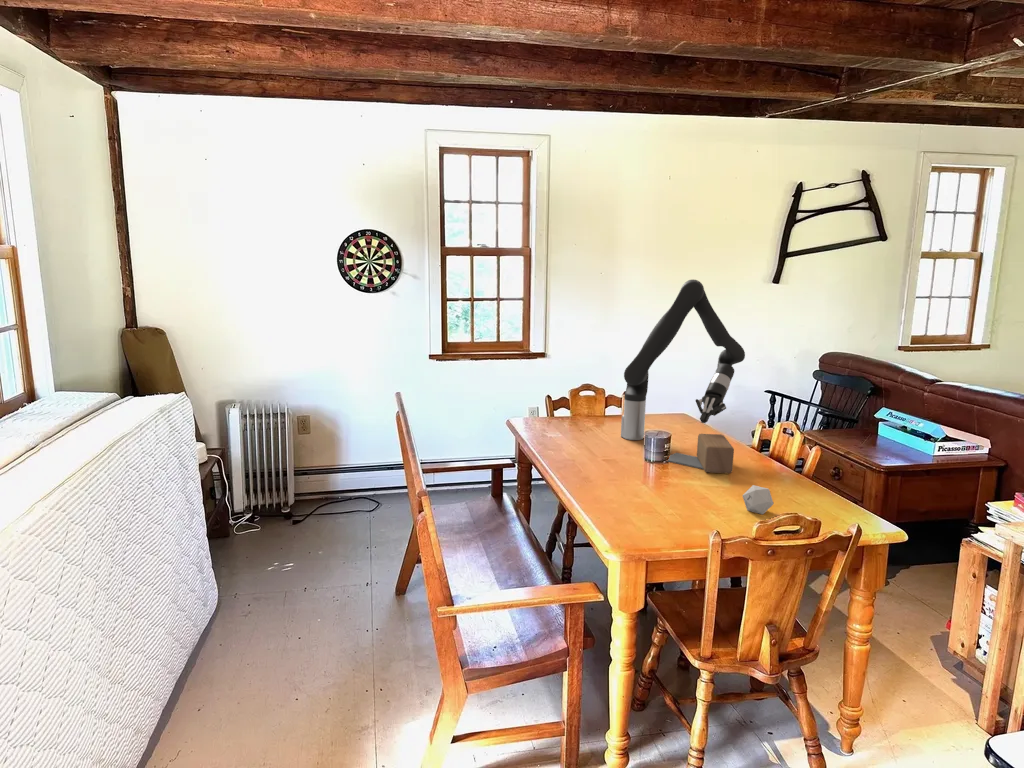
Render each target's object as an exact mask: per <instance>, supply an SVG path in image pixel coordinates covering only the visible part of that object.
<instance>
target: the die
mask: <svg viewBox="0 0 1024 768" xmlns="http://www.w3.org/2000/svg"><path fill="white" fill-rule="evenodd" d="M741 496H742V500H743V501H744V505H745V507H746V511H748V512H751V513H756V514H759V515H764V514H765V513H766V512H767V511H768V510H769V509H770V508H771V507H772V506H773V505H774V501H773V497H772V494H771V491H770V488H768V487H761V486H759V485H754V484H752V485H751V487H749V488H748V490H746V491H745V492H744V493H743V494H742V495H741Z"/></svg>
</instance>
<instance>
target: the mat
mask: <svg viewBox="0 0 1024 768" xmlns="http://www.w3.org/2000/svg"><path fill="white" fill-rule="evenodd" d="M667 462H668V463H673V464H678V465H681V466H686V467H691V468H693V469H694V468H695V469H699V470H704V469H703V467H702V465H701V463H700V461H699V460H698V458H697V456H695V455H691V454H685V453H680V452H674V453H672V454H670V457H669V459H668V461H667ZM704 471H705V470H704Z"/></svg>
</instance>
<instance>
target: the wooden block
mask: <svg viewBox="0 0 1024 768" xmlns="http://www.w3.org/2000/svg"><path fill="white" fill-rule="evenodd" d="M734 455H735V448H734V447H733V446H732V444H731V443H730V441H729V440H728V439H727V438H726V437H725V435H723V434H722V433H721V434H716V433H715V434H714V433H699V434H698V435H697V445H696V457H697V458H698V460H699V461H700V463H701V465H702V467H703V469H704V472H706V473H716V474H732V472H733V466H734ZM703 469H702V470H703Z"/></svg>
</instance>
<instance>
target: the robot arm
mask: <svg viewBox="0 0 1024 768" xmlns="http://www.w3.org/2000/svg"><path fill="white" fill-rule="evenodd" d="M693 308H694V310H695V311H696V313H697V314H698V317H699V318H700V320H701V322H702V324H703V326H704V329H705V330H706V332H707V334H708V336H709V337H710V339H711V341H712V342H713V344H714V345H715V346H716V347H723V348H724V350H722V351H721V352H720V354H719V356H718V359H717V366H716V367H717V368H716V370H715V372H714V374H713V376H712V378H711V380H709V381H710V382H709V383H708V385H707V388H706V391H705V393H704V395H703V396H702V397H701V399H697V398H696V399H694V400H695V402H696V403H695V404H696V405H697V408H698V411H699V413H700V414H701V415H700V417H699V420H700V423H701V424H706V423H707V422H708V421H709V419H710V417H711V416H714V417H715V416H717V415H718V414H720V413H721V412H723V411H725V410H727V406H726V403H724V400H725V397H726V395H727V393H728V391H729V389H730V385H731V382H732V379H733V378H734V375H735V368H734V367H733V366H734V365H736V364H739V363H741V362H743V361H744V360H745V358H746V352H745V350H744V347H743V346H742V345H741V344H740V343H739V342H738V341H737V340H736V339H735V338H734V337H733V336H732V335H731V334H730V333H729V331H728V330H727V328H726V326H725V325H724V323H723V322H722V320H721V319H720V317H719V315H717V312H716V311H715V309H714V308H713V306H712V305H711V303H710V301H709V298H708V296H707V293H706V290H705V287H704V284H702V282H701V281H699V280H697V279H689V280H687V281H685V282H684V283H683V284H682V286H681V288H680V290H679V293H678V294H677V296H676V298H675V300H674V302H673V303H672V304H671V306H670V308H669V309H668V310H667V311H666V312H665V313H664V314H663V315H662V316H661V318H660V319H659V320H658V322H657V323H656V324H655V325H654V327H653V328H652V330H651V332H650V333H649V335H648V337H647V338H646V339H645V341H644V343H643V344H642V347H641V348H640V350H639V352H638V354H636V356H635V357H634V358H633V360H632V361H631V362H630V363H629V364H628V365H627V367H626V368H625V370H624V373H623V378H624V381H625V382H626V389H625V391H624V392H625V393H624V397H623V398H624V402H623V408H624V409H623V415H621V422H620V424H621V425H620V437H621V438H623V439H625V440H630V441H640V440H644V439H643V437H644V438H645V424H646V422H645V421H646V405H647V400H646V399H647V394H648V388H649V387H648V385H649V370H650V368H651V367H652V366H653V364H654V362H655V361H656V360H657V359H658V358H659V357H660V356H661V355H662V354H663V352H664V351H665V350H666V349H667V348H668V347H669V345H670V344H671V343H672V341H673V340H674V338H675V337H676V335H677V334H678V332H679V330H680V329H681V327H682V325H683V323H684V321H685V319H686V317H687V316H688V315H689V313H690V312H691V311H692V309H693ZM702 405H703V407H702Z"/></svg>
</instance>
